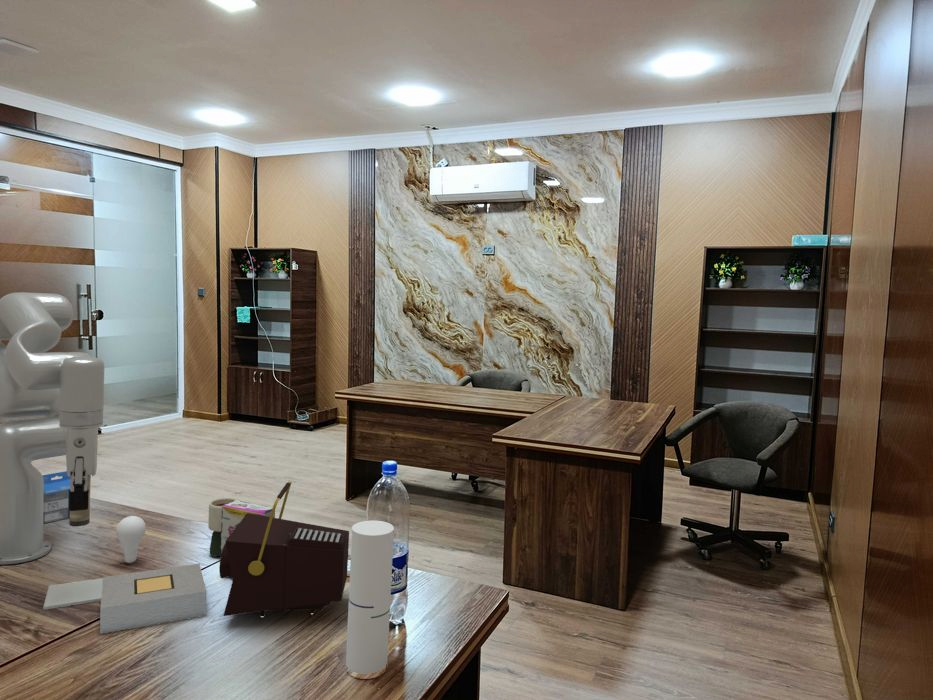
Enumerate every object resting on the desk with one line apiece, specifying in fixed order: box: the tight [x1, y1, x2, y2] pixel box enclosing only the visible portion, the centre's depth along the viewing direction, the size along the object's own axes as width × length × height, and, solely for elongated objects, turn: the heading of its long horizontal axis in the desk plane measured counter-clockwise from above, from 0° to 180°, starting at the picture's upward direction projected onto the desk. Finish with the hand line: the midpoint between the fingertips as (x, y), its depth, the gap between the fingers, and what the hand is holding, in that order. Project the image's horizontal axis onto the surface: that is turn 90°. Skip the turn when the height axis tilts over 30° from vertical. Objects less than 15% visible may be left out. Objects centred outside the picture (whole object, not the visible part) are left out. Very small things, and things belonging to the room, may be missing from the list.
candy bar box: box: [221, 499, 276, 579], centre depth 139 cm, size 11×5×16 cm, turn 71°
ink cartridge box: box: [42, 470, 70, 525], centre depth 168 cm, size 9×4×12 cm, turn 147°
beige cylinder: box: [68, 471, 92, 527], centre depth 126 cm, size 4×4×12 cm
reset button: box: [137, 576, 172, 594], centre depth 123 cm, size 6×6×3 cm
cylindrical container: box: [345, 520, 395, 674], centre depth 107 cm, size 7×7×25 cm
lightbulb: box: [115, 515, 147, 564], centre depth 143 cm, size 6×6×11 cm
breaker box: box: [99, 563, 208, 635], centre depth 123 cm, size 18×14×5 cm
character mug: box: [207, 497, 241, 557], centre depth 151 cm, size 11×7×13 cm, turn 51°
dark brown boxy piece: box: [218, 480, 350, 617], centre depth 126 cm, size 16×23×25 cm
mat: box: [42, 577, 103, 611], centre depth 127 cm, size 10×10×1 cm
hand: (79, 505), depth 126 cm, fingers closed on beige cylinder, 3 cm apart
